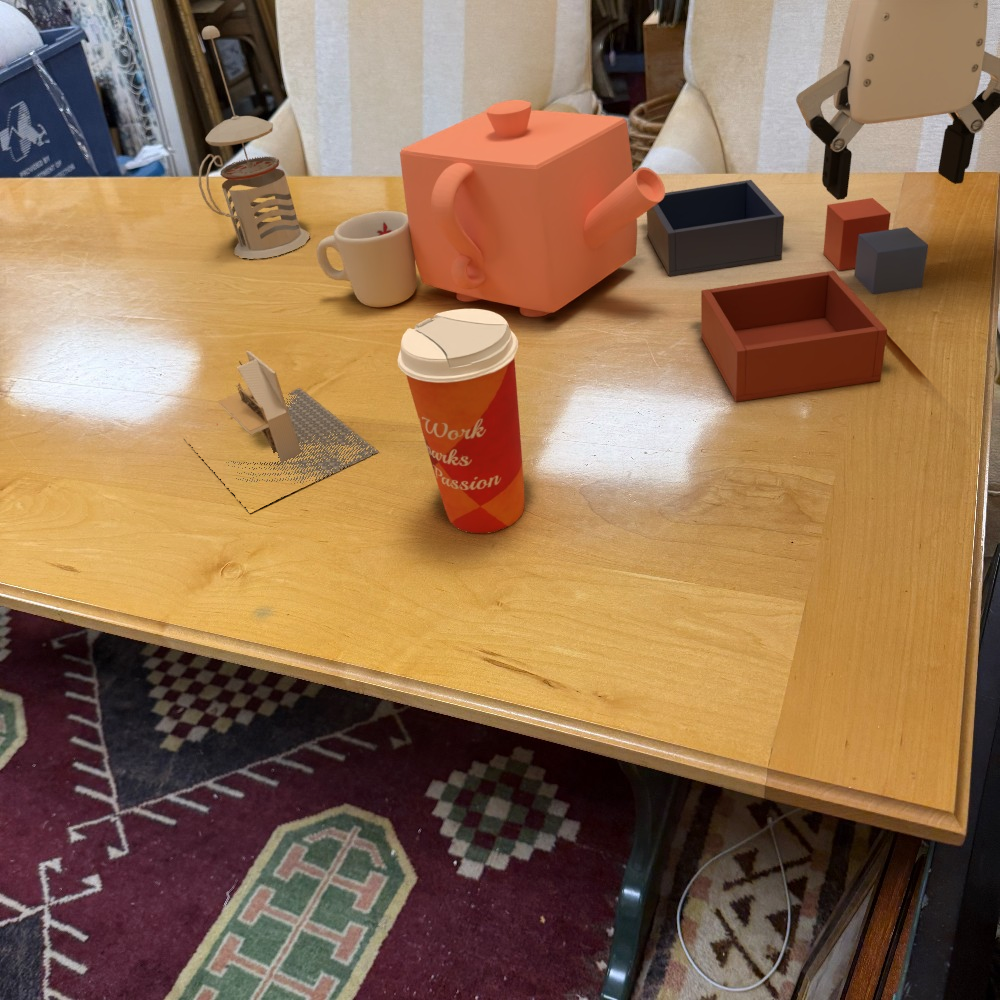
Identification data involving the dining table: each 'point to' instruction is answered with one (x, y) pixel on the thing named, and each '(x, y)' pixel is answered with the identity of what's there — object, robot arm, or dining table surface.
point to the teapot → (525, 205)
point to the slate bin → (715, 228)
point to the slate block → (890, 260)
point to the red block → (851, 229)
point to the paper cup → (469, 414)
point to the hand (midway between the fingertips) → (892, 186)
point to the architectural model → (290, 423)
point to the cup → (374, 257)
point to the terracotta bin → (791, 336)
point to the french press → (253, 173)
